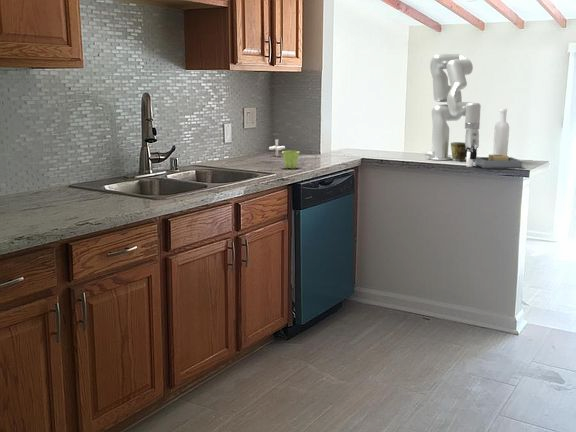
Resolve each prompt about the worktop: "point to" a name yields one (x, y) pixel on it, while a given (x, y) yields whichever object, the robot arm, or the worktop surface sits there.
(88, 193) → the worktop surface
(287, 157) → the plant pot
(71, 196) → the worktop surface
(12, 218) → the worktop surface
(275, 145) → the pipe connector
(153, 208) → the worktop surface
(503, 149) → the bottle
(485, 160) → the box
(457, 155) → the ceramic cup
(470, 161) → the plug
